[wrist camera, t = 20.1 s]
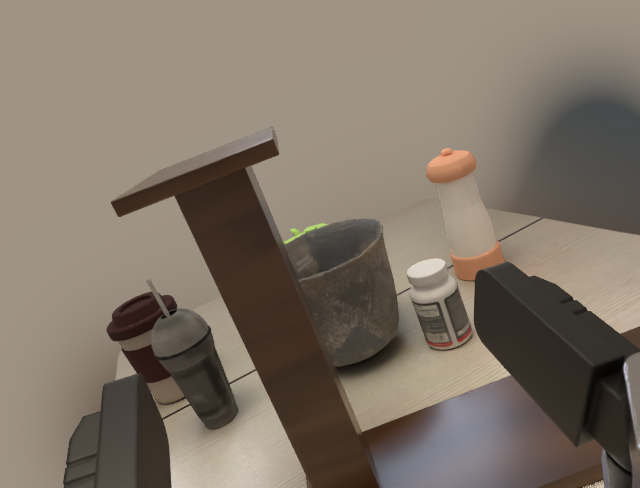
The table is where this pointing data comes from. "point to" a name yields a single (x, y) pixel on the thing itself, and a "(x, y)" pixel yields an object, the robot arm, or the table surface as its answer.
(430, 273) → the pill bottle
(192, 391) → the beverage cup
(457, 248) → the pepper shaker
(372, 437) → the headphone stand
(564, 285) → the table surface
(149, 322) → the coffee cup
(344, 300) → the bowl
